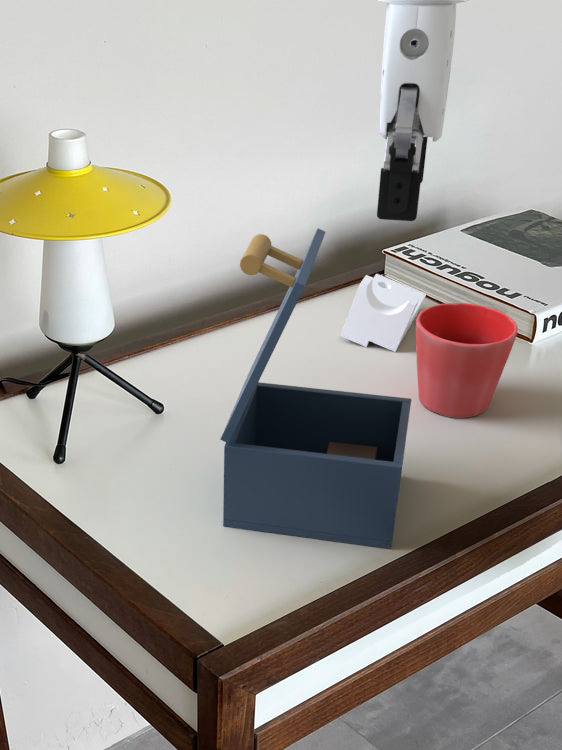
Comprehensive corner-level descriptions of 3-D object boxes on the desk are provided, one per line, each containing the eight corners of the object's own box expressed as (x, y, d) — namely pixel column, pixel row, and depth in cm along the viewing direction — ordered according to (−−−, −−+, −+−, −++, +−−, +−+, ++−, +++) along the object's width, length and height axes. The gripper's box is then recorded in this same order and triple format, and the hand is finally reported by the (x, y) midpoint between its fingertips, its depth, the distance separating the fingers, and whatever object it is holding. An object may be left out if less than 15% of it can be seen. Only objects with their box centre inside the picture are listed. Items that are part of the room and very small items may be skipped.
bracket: (392, 358, 125) (415, 305, 120) (340, 335, 126) (360, 282, 121) (416, 317, 135) (438, 267, 130) (367, 296, 136) (387, 246, 131)
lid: (326, 231, 90) (268, 204, 90) (304, 286, 80) (240, 256, 80) (254, 378, 100) (203, 354, 100) (228, 443, 90) (170, 417, 90)
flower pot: (523, 404, 113) (539, 324, 108) (460, 436, 108) (475, 353, 102) (448, 370, 120) (460, 293, 115) (385, 399, 115) (395, 319, 109)
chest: (401, 475, 102) (411, 398, 97) (391, 549, 92) (402, 467, 87) (248, 456, 105) (251, 381, 100) (222, 526, 95) (224, 446, 90)
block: (373, 487, 99) (377, 446, 96) (368, 513, 95) (373, 472, 92) (326, 481, 100) (329, 441, 97) (319, 507, 96) (322, 466, 93)
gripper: (472, -5, 69) (441, 238, 79) (475, -39, 83) (448, 172, 93) (362, -7, 71) (345, 232, 81) (382, -39, 85) (365, 168, 95)
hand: (400, 200), depth 87 cm, fingers open, 9 cm apart
